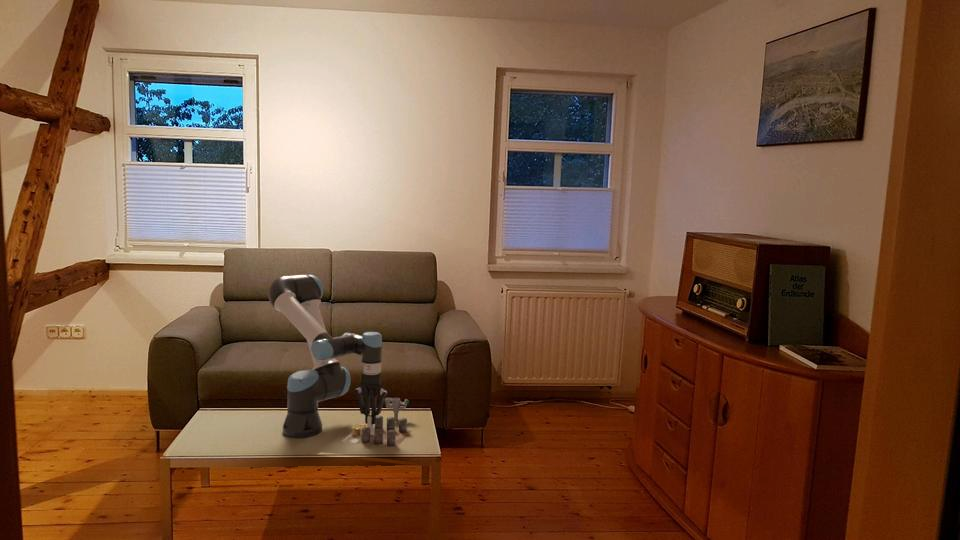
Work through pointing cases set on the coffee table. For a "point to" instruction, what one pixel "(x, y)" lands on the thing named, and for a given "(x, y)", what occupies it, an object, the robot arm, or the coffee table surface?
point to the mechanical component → (395, 405)
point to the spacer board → (382, 433)
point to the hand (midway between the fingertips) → (370, 431)
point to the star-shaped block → (358, 429)
